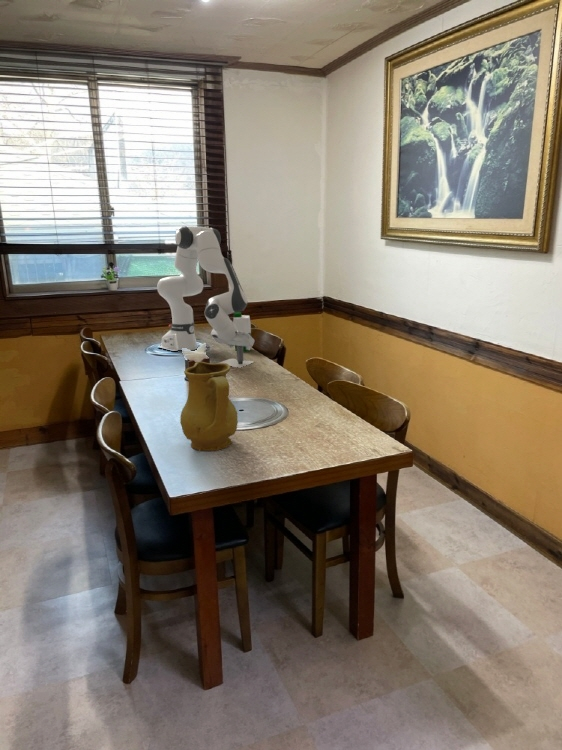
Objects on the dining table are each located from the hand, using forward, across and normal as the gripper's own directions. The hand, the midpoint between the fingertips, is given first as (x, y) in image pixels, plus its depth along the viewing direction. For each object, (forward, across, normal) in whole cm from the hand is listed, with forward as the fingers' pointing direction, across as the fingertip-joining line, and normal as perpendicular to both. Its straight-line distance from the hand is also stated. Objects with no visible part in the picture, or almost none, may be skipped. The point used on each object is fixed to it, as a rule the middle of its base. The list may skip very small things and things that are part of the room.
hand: (240, 347), depth 252 cm
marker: (+5, 0, +6) cm, 8 cm away
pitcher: (-54, -47, +66) cm, 97 cm away
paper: (+5, +3, +6) cm, 8 cm away
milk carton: (+23, +16, -12) cm, 30 cm away
